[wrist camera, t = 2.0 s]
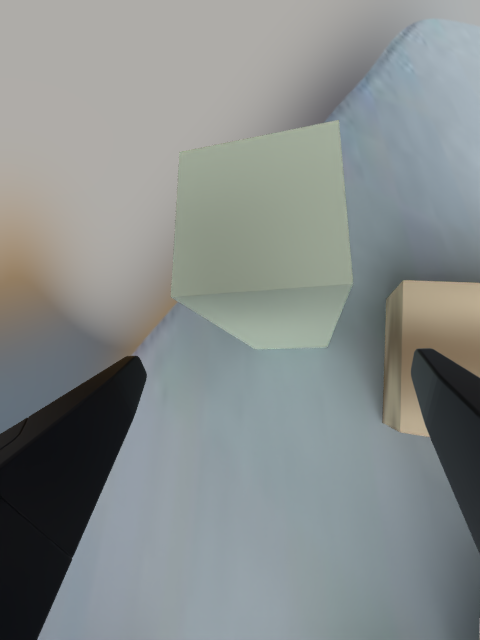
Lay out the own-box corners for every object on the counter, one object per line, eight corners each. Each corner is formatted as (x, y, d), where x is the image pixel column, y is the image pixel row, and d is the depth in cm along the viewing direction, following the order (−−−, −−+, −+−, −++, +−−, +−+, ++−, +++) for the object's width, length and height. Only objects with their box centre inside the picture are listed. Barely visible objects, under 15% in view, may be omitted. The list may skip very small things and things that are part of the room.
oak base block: (537, 446, 16) (608, 465, 12) (381, 422, 18) (400, 432, 14) (528, 307, 17) (588, 286, 14) (385, 300, 19) (403, 280, 16)
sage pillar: (327, 347, 19) (353, 283, 7) (254, 349, 21) (170, 297, 8) (322, 278, 21) (338, 120, 8) (254, 283, 22) (179, 151, 9)
